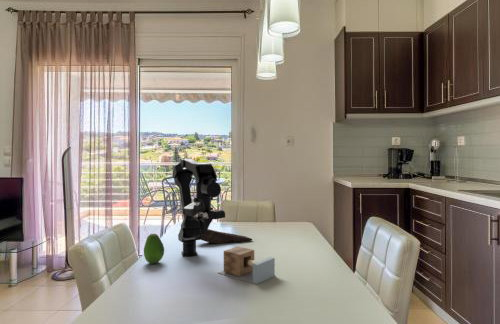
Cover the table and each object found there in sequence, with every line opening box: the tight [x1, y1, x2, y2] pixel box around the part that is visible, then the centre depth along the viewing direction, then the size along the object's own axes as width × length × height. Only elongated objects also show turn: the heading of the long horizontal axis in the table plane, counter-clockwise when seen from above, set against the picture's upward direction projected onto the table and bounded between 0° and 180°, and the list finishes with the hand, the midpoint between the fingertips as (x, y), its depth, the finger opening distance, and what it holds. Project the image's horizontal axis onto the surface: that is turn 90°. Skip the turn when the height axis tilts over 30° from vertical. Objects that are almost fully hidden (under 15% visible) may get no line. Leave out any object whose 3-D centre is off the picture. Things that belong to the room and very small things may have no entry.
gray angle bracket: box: [218, 256, 276, 285], centre depth 128 cm, size 18×11×6 cm, turn 51°
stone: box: [199, 228, 253, 244], centre depth 175 cm, size 28×6×10 cm, turn 102°
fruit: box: [143, 233, 165, 265], centre depth 142 cm, size 8×8×12 cm
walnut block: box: [223, 246, 255, 276], centre depth 130 cm, size 8×8×8 cm
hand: (203, 234), depth 140 cm, fingers closed
